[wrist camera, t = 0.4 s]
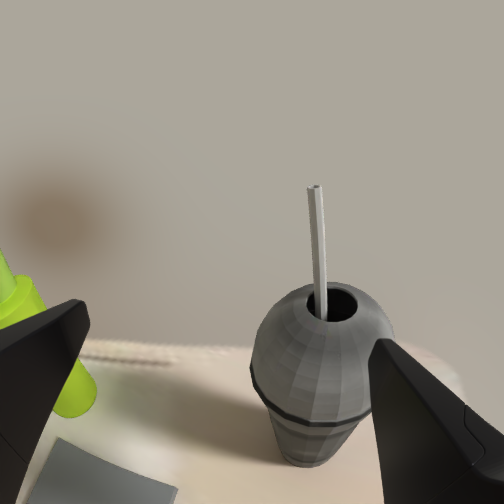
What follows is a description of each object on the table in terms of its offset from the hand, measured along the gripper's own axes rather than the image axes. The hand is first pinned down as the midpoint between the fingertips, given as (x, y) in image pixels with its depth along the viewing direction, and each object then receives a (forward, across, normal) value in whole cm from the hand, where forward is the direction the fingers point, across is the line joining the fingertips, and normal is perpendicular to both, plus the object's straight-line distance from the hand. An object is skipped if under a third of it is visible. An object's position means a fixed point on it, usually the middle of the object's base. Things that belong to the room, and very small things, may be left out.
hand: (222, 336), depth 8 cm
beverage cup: (+6, -6, +16) cm, 18 cm away
